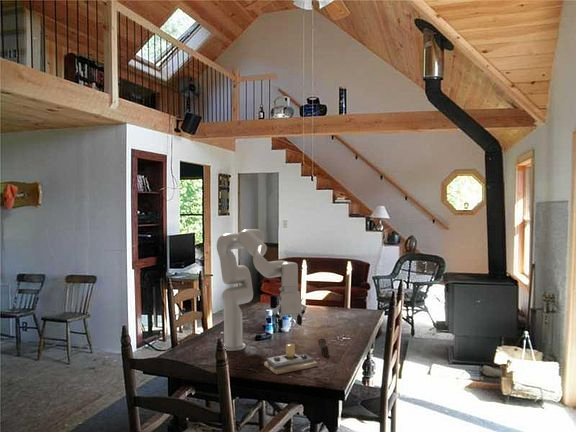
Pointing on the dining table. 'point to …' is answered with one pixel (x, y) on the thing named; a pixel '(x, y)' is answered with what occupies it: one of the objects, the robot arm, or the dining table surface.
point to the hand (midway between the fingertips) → (290, 326)
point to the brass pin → (290, 351)
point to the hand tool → (322, 346)
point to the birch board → (291, 367)
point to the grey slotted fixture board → (288, 361)
